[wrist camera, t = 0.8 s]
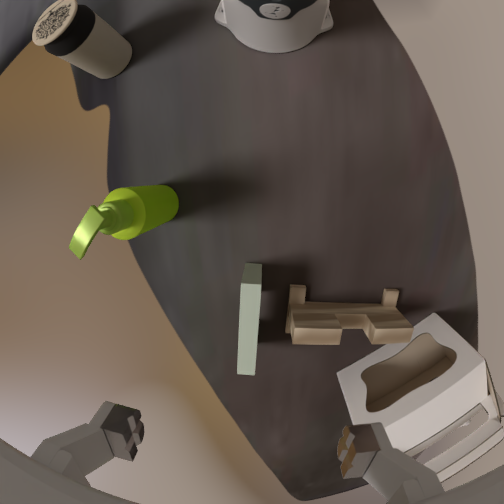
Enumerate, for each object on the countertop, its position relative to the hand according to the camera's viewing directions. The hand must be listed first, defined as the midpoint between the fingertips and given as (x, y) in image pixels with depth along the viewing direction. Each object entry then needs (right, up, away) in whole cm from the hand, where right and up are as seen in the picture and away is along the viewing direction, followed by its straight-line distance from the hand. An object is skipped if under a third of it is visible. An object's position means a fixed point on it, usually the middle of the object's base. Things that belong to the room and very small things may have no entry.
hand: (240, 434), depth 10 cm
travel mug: (-23, +40, +27) cm, 54 cm away
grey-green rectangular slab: (0, -1, +37) cm, 37 cm away
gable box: (+29, -15, +39) cm, 51 cm away
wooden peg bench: (+15, -2, +36) cm, 39 cm away
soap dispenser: (-14, +14, +33) cm, 39 cm away
